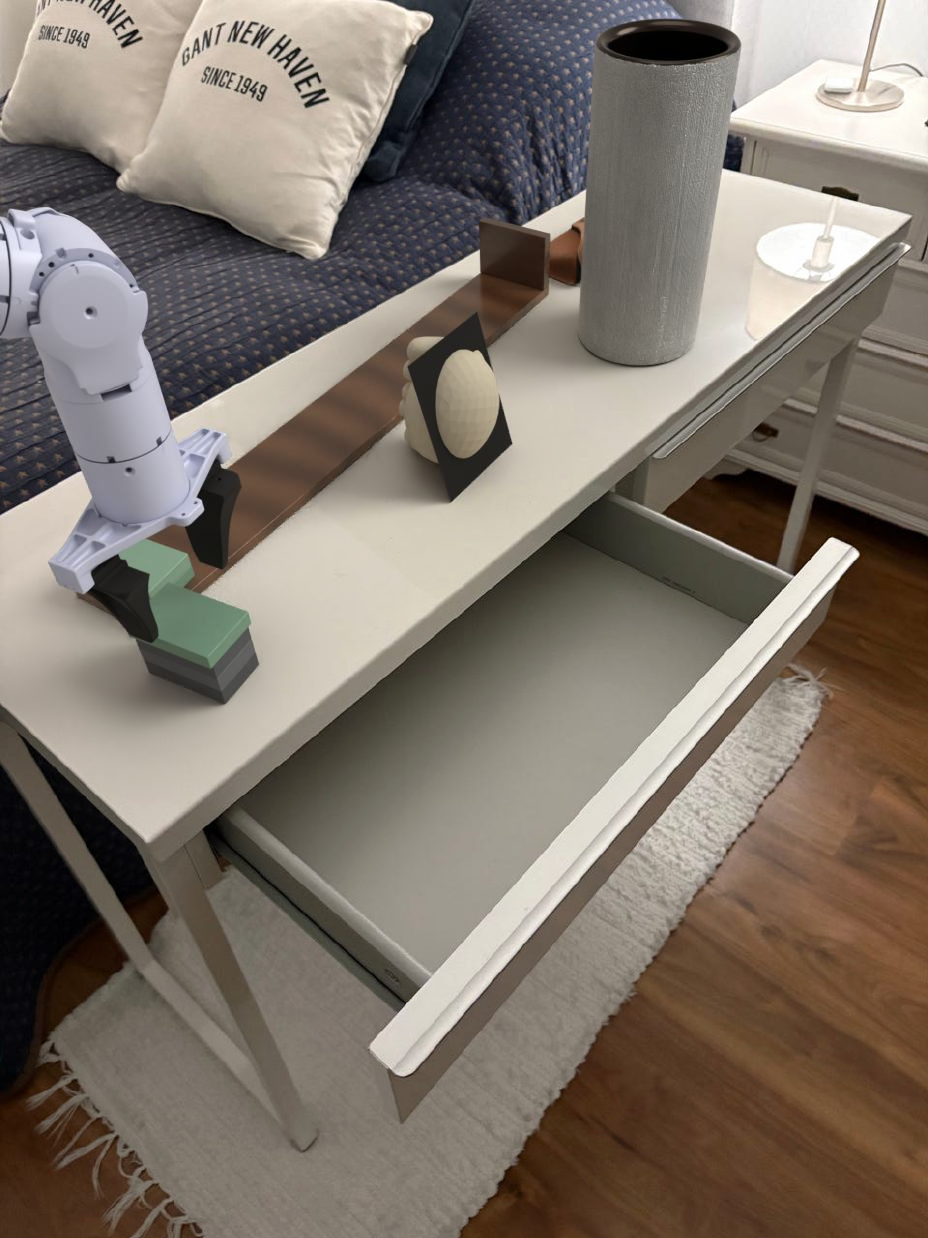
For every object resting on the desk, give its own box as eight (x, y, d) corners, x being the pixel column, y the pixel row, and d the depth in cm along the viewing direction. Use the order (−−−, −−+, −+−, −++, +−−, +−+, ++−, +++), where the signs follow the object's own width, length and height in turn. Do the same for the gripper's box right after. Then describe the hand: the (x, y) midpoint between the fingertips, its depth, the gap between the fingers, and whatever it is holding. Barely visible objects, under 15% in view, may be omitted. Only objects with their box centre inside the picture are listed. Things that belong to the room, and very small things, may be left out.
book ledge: (151, 636, 74) (124, 570, 69) (76, 596, 77) (46, 529, 72) (548, 294, 108) (550, 233, 103) (485, 276, 111) (484, 216, 106)
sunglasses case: (605, 208, 121) (633, 167, 116) (644, 248, 121) (673, 209, 116) (521, 264, 112) (546, 223, 106) (563, 308, 112) (590, 269, 106)
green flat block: (156, 615, 74) (148, 593, 72) (85, 587, 76) (75, 565, 75) (195, 575, 77) (188, 553, 75) (125, 550, 79) (116, 528, 78)
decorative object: (387, 493, 88) (449, 438, 94) (477, 505, 82) (537, 445, 87) (340, 364, 81) (410, 312, 86) (434, 367, 74) (504, 310, 80)
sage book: (211, 669, 66) (207, 658, 65) (129, 636, 68) (124, 625, 67) (252, 623, 69) (248, 611, 68) (172, 593, 71) (167, 581, 70)
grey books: (225, 704, 69) (212, 666, 66) (148, 672, 71) (132, 634, 68) (259, 664, 71) (248, 625, 68) (184, 634, 74) (170, 596, 71)
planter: (718, 331, 101) (770, 33, 81) (651, 381, 95) (689, 72, 75) (622, 295, 107) (649, 9, 87) (554, 340, 101) (565, 44, 81)
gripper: (88, 527, 50) (157, 691, 60) (250, 385, 59) (287, 549, 69) (-10, 492, 53) (72, 655, 63) (160, 360, 62) (208, 522, 71)
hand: (180, 598), depth 66 cm, fingers open, 7 cm apart
